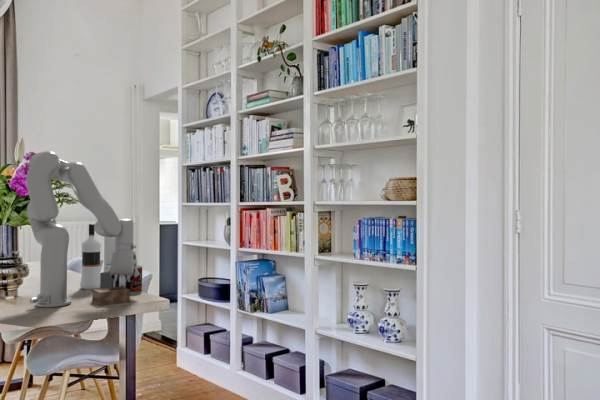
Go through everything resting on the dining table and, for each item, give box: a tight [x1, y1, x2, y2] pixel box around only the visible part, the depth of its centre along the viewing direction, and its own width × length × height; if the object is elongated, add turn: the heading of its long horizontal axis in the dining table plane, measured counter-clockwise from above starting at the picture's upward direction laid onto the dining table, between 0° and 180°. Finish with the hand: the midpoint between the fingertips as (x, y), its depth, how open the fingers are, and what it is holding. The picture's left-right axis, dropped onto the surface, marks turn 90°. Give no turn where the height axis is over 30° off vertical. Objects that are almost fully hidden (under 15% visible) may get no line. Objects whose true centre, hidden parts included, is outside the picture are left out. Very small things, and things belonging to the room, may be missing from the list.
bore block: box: [91, 287, 131, 306], centre depth 215 cm, size 12×9×5 cm
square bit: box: [99, 271, 114, 289], centre depth 228 cm, size 4×4×10 cm
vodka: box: [79, 223, 102, 290], centre depth 247 cm, size 9×9×30 cm
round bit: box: [119, 274, 128, 288], centre depth 226 cm, size 4×4×10 cm
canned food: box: [130, 264, 143, 292], centre depth 243 cm, size 8×8×11 cm
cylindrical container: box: [103, 236, 115, 287], centre depth 238 cm, size 7×7×25 cm
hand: (123, 290), depth 226 cm, fingers closed on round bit, 4 cm apart
